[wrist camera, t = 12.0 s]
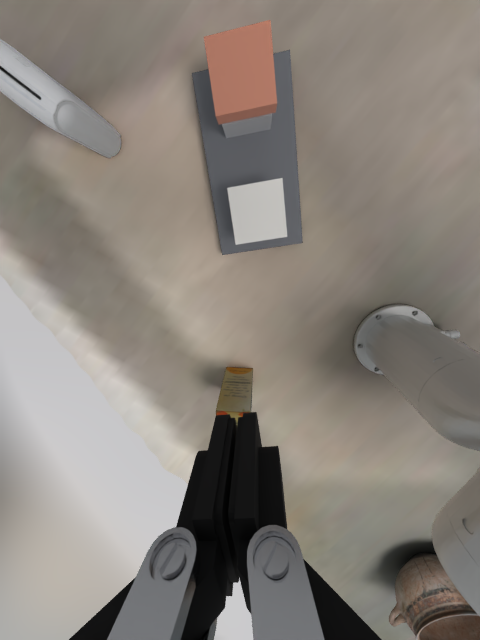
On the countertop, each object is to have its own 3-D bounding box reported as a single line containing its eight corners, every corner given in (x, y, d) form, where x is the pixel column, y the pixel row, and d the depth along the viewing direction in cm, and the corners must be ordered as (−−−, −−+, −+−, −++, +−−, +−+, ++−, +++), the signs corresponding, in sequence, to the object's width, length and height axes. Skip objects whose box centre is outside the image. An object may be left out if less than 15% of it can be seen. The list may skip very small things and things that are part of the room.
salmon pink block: (267, 62, 29) (270, 19, 23) (273, 127, 31) (277, 103, 25) (214, 75, 29) (203, 36, 24) (223, 137, 31) (215, 116, 26)
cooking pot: (385, 593, 64) (413, 671, 53) (359, 550, 60) (383, 625, 48) (489, 572, 59) (545, 654, 48) (469, 523, 54) (526, 600, 43)
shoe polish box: (226, 389, 47) (216, 438, 36) (226, 367, 46) (215, 410, 34) (251, 391, 47) (250, 440, 36) (252, 368, 45) (251, 412, 34)
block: (287, 61, 31) (294, 22, 25) (300, 242, 38) (307, 243, 32) (195, 82, 32) (182, 50, 27) (223, 254, 39) (218, 257, 33)
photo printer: (50, 115, 35) (-55, 54, 23) (62, 84, 33) (-44, 2, 22) (114, 165, 36) (45, 131, 24) (127, 136, 35) (62, 87, 23)
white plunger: (278, 187, 34) (282, 177, 28) (282, 236, 36) (287, 236, 30) (232, 195, 34) (227, 187, 29) (239, 243, 36) (235, 244, 31)
